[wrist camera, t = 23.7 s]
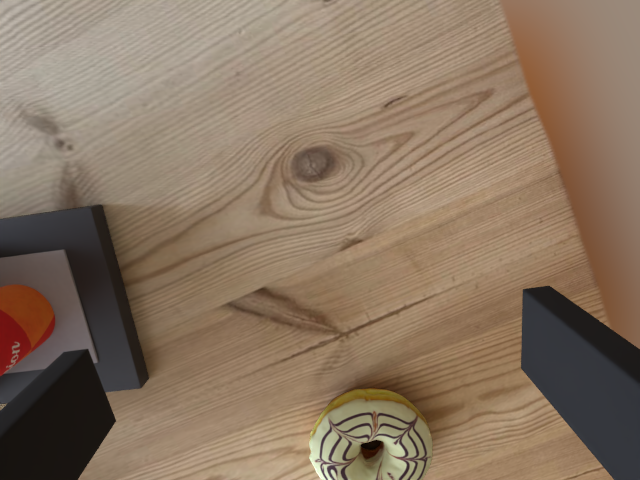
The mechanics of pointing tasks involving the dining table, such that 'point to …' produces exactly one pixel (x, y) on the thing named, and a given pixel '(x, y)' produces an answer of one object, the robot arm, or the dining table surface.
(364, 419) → the decorated donut
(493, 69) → the dining table surface
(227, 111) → the dining table surface
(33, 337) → the paper cup
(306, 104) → the dining table surface
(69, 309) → the coffee maker
